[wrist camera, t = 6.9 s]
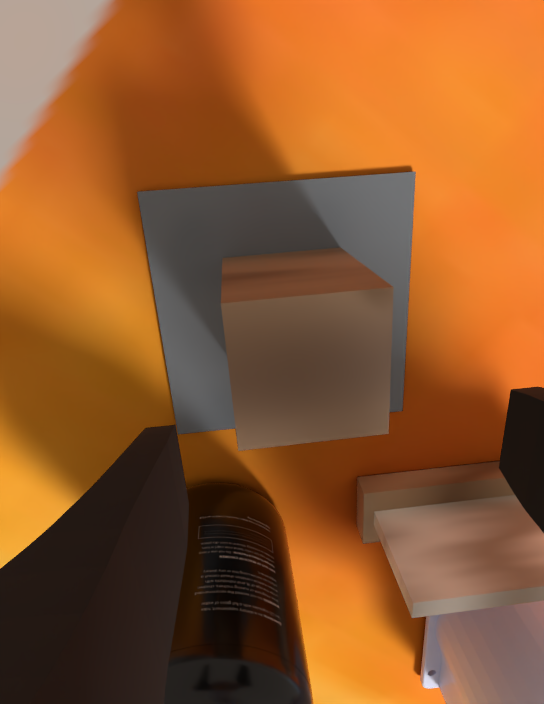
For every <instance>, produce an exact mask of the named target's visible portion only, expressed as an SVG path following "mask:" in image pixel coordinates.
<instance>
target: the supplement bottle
mask: <svg viewBox="0 0 544 704" xmlns="http://www.w3.org/2000/svg"><path fill="white" fill-rule="evenodd" d="M187 495H188V501H189V516H188V540H187V552H186V559H185V565H184V572H183V578H182V584H181V590H180V596H179V602H178V608H177V614H176V620H175V627H174V633H173V639H172V645H171V651H170V657H169V663H168V671H167V679H166V687H165V698H164V704H313V697H312V690H311V684H310V678H309V672H308V665H307V659H306V653H305V647H304V641H303V634H302V628H301V622H300V616H299V610H298V603H297V597H296V591H295V585H294V579H293V572H292V566H291V560H290V554H289V548H288V542H287V536H286V531H285V527H284V523H283V520H282V518H281V516H280V514H279V513H278V511H277V510H276V508H275V507H274V506H273V505H272V504H271V503H270V502H269V501H268V500H267V499H266V498H264V497H263V496H262V495H260V494H259V493H257V492H255V491H253V490H251V489H248V488H246V487H243V486H239V485H235V484H229V483H207V484H201V485H197V486H193V487H190V488H187Z"/></svg>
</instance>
